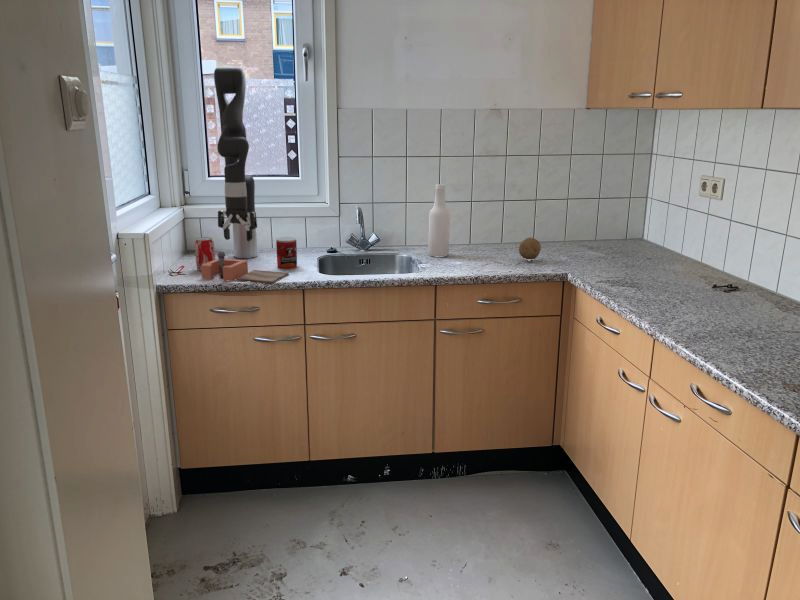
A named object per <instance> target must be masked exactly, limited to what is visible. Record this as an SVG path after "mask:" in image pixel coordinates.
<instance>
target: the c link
mask: <svg viewBox="0 0 800 600" xmlns="http://www.w3.org/2000/svg"><path fill="white" fill-rule="evenodd" d="M224 260H225V266H223V278H222V280H229V281H228V282H233V280H234V281H236V280H235V279H236V278H238V277H240V276H243V275H245V274H247V273H249V267H248V266H249V264H248V262H249V261H248V260H245V259H235V258H233V259H231V258H224ZM200 272H201V279H202V280H213V279H214V277H216V276H217V274H218V275H220V272H219V257H218V258H215V260H213V261H210V262H208V263H205V264H203V265H201V271H200Z"/></svg>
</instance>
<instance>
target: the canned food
mask: <svg viewBox="0 0 800 600" xmlns="http://www.w3.org/2000/svg"><path fill="white" fill-rule="evenodd" d="M275 241H276V265H277V268H279V269H281V268H282V269H283V270H289V269H290V270H291V268H292V269H295V268H297V266H298V253H297V252H298V249H297V247H298V246H297V245H298V244H297V238H296V237H291V236H290V237H289V236H282V237H278V238H277V237H276V240H275Z"/></svg>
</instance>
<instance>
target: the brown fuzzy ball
mask: <svg viewBox="0 0 800 600" xmlns="http://www.w3.org/2000/svg"><path fill="white" fill-rule="evenodd" d="M541 250H542V246H541V242H540V241H538V240H537V238H534V237H526V238H525V239H523V240H522V241H521V242H520V244H519V247H518V252H519V255H520V257H521V258H523V259H524V258H526V259H534V260H536V258H537V257H538V256H539V254H540V252H541Z"/></svg>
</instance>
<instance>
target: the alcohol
mask: <svg viewBox="0 0 800 600" xmlns="http://www.w3.org/2000/svg"><path fill="white" fill-rule="evenodd" d="M445 189H446V184H444V183H437V184H435V192H434V200H433V201H434V202H433V207H432V208H431V209H430V210H429V213H428V231H427V232H428V234H427V235H428V236H427V237H428V238H427V241H428V242H427V254H428V256H429V255H431V256H446V255H449V252H450V251H449V250H450V225H451V224H450V223H451V221H450V220H451V213H450V210H449V209H448V207H447V206H446V190H445ZM431 256H430V257H431Z"/></svg>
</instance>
